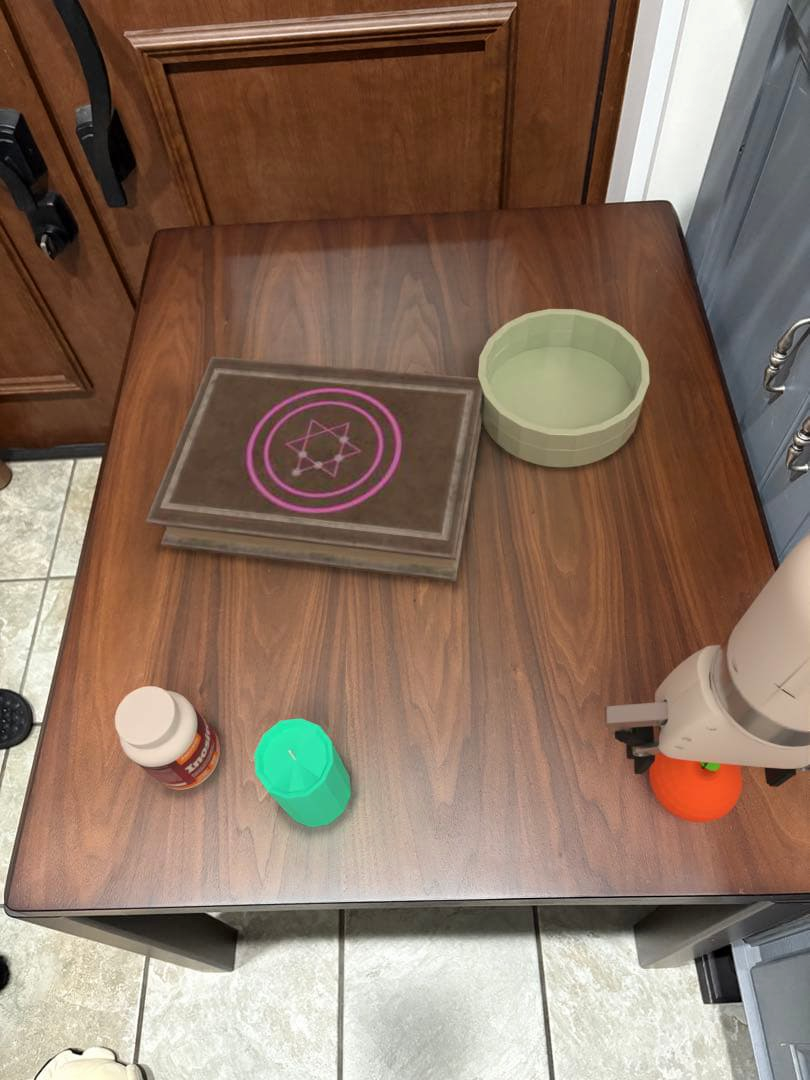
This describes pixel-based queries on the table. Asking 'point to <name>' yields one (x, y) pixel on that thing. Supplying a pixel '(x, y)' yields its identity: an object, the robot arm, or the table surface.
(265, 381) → the book
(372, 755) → the table surface
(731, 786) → the clementine
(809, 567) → the robot arm
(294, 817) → the candle
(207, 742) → the pill bottle
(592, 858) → the table surface
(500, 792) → the table surface
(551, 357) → the bowl
